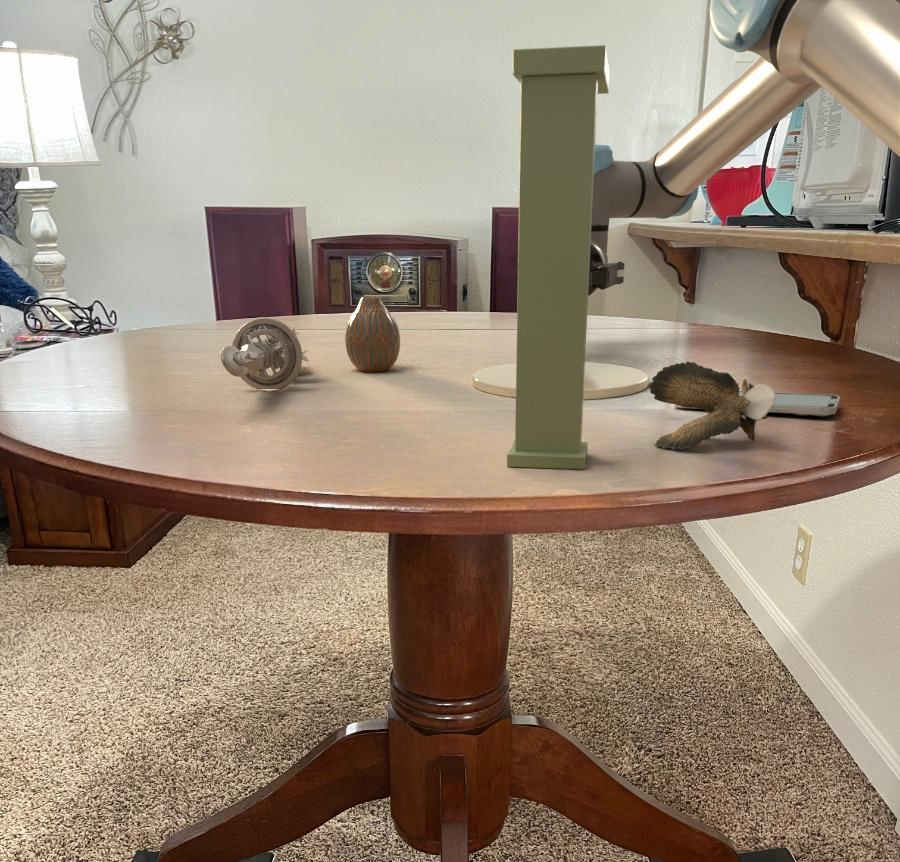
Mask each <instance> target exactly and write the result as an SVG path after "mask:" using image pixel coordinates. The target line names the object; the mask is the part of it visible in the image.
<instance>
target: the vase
mask: <svg viewBox="0 0 900 862" xmlns="http://www.w3.org/2000/svg"><path fill="white" fill-rule="evenodd" d="M344 344H345V350H346V353H347V357H348V359H349V361H350V363H351V364H352V365H353V366H354V367H355V368H356V369H357V370H358V371H360V372H366V373H367V372H369V373H373V372H374V373H376V372H385V371H389V370H390V369H392V367H393V366H394V365H395V364H396V362H397V360H398V358H399V354H400V349H401V335H400V330H399V325H398V323H397V321H396V319H395V318H394V316H393V315H392V314H391V312H390V311H389V310H388V309H387V307H386V306H385V304H384V302H383V300H382V297H380V296H377V295H375V296H373V295H370V296H361V298H360V299H359V302H358V305H357V307H356V309H355V310H354V311H353V312H352V314H351V316H350V318H349V319H348V321H347V324H346V328H345V334H344Z"/></svg>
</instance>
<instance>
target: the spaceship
mask: <svg viewBox="0 0 900 862" xmlns="http://www.w3.org/2000/svg"><path fill="white" fill-rule="evenodd" d="M298 334H299V332H296V330H295V327H293V328H291V327H289V326H288V325H287V324H285V323H284V322H282V321H280V320H279V319H276V318H272V317H257V318H253V319H251V320H249V321H247V322H246V323H244V324H243V325H242V326H241V327H240V328H239V329H238V330H237V332H236V333H235V335H234V338H233V340H232V344H231V345H226V346H224V347H222V349H221V350H220V352H219V354H220V355H219V358H220V361H221V363H222V366H223V368H224V369H225V370H226V371H227V372H228V373H229V374H230V375H231V376H234V377H237V378H240V379H241V380H242V381H243V382H244V383H245V384H246V385H248V386H250V387H251V388H253V389H255V388H256V389H255V390H258V389H280V390H283V389H285V388H287V387H288V386H290V384H292V383H293V382H294V380H296V378H297V377H298V375H299V373H300V371H301V367H302V364H303V361H305V362H310V360H309V358H308V357H307V356H306V355H305V354H306V353H307V352H308V349H305V350H304V351H303V350H302V349H303V348H302V346H301V343H300V340H299V338H298V336H297V335H298ZM300 334H302V332H300ZM261 336H265V337H266V338H263V339H262V338H261ZM255 338H256V339H257V342H256V341H253V340H254V339H255ZM278 369H279V370H278ZM268 370H269V371H272V373H273V374H268V372H267V371H268ZM276 370H278V371H276Z"/></svg>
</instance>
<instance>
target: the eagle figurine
mask: <svg viewBox="0 0 900 862" xmlns="http://www.w3.org/2000/svg"><path fill="white" fill-rule="evenodd" d="M651 380H652V381H651V382H650V383H648V386H647V389H650V390H649V393H650V394H651V395H654V397H653V399H654V400H656V401H659V402H661V403H666V404H670V405H674V404H675V405H679V406H682V407H688V408H687V409H697V408H699V410H703V411H705V412H706V413H707V414H706V415H703V416H701V417H698V418H696V419H692V420H690V421H688V422H686V423H683V424H681V426H679V427H678V428H677V429H675V430H674V431H673V432H671V433H668V434H665V435H662V436H660V437H658V439H657V440H656V441H655V442H656V443H654V446H655V447H656V448H662V449H670V448H671V450H675V449H678V450H684V449H688V448H692V447H694V446H696V445H700V444H702V443H703V442H705V441H708V440H710V439H711V438H714V437H716V436H720V435H730V434H732V433H733V432H735V431H738V430H739V428H741V430H742V431H743V433H745V434H746V435H747V438H748V439H749V440H751V441H752V442H754V441H755V439H756V433H755V432H756V431H755V430H756V429H755V428H756V422H757V421H761V420H766V419H768V415H767V414H768V413H770V412H769V411H770V410H771V409H772V408H773V405H774V401H775V398H776V397H775V392H776V391H774V389H773V388H772V387H771V386H769V385H768V384H765V383H763V382H759V383H756V384H755V385H753V384H752V383H748V380H747V379H742V382H741V387H739V383H738V382H737V381H736V380H735V379H734V377H733V376H732V375H731V374H730V373H729V372H723V371H721V372H719V371H718V370H713V369H712V368H708V367H704V366H702V365H698V363H696V362H695V361H691V362H690V361H686V362H680V363H675V364H670V365H669V366H663V367H662V370H659V371H658V372H657V373H656V375H654V376H653V377H652V378H651ZM740 388H741V391H743V396H739V391H740ZM691 407H692V408H691Z"/></svg>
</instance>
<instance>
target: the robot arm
mask: <svg viewBox="0 0 900 862" xmlns="http://www.w3.org/2000/svg"><path fill="white" fill-rule="evenodd" d="M709 21H710V26H711V30H712V32H713V35H714V37H715V39H716V40H717V42H718V43H719V44H720V45H721V46H722V47H724V48H726V49H729V50H732V51H734V52H736V53H745V52H752V53H754V54H757V55H758V56H759V57H758V58H757V59H756V60H755V61H753V63H751V65H749V66H748V67H747V68H746V70H744V71H743V72H742V73H741V74H740V75H738V77H737V78H736V79H734V80H733V81H732V82H731V83H730V84H729V85H728V86H727V87H726V88H725V89H724V90H723V91H721V92H720V93H719V94H718V95H717V96H716V97H715V98H714V99H712V101H711V102H710V103H709V104H707V105H706V107H704V108H703V110H701V111H700V112H699V113H698V114H697V115H696V116H695V117H694V118H693V119H691V121H690V122H688V123H687V124H686V125H685V126H684V127H683V128H682V129H681V130H680V131H678V133H677V134H675V135H674V136H673V137H672V138H671V139H670V140H669V141H668V142H667V143H666V144H664V146H662V148H660V149H659V151H657V152H656V153H655V154H654V155H652V156H651V157H650V158H649V159H648V160H645V161H633V160H632V161H630V160H629V161H628V160H627V161H626V160H615V158H614V157H613V156H614V155H613V152H614V151H613V148H612V147H611V146H610V145H607V144H595V159H594V181H593V202H592V223H591V245H590V266H589V287H588V297H590V296H591V295H592V294H594V293H595V292H596V291H597V290H598V289H599V290H600V291H601V290H603V291H604V290H606V289H609V288H611V287H613V286H615V285H621V284H624V279H625V265H626V264H625V262H623V261H617V262H608V260H609V259H608V258H609V257H608V242H609V240H608V239H609V230H610V229H609V227H610V226H609V225H610V219H659V220H660V219H662V220H663V219H668V218H672V217H680V216H683V215H685V214H687V213H688V212H689V211H690V210H691V209H692V207H693V204H694V202H695V201H696V200H697V198H698V194H699V189H700V186H702V185H703V184H704V183H705V182H707V181H708V180H709V179H710V178H712V177H713V176H714V175H716V173H718V172H719V171H720V170H721V169H723V168H724V167H726V165H728V164H729V163H730V162H731V161H732V160H735V158H737V156H739V155H740V154H741V153H742V152H743V151H745V150H746V149H747V148H749V147H750V146H751V145H752V144H754V143H755V142H756V141H757V140H758V139H760V138H761V137H762V136H763V135H765V134H766V133H767V132H768V131H770V130H771V129H772V128H773V127H774V126H777V124H778V123H779V122H781V121H782V120H783V119H784V118H786V117H787V116H788V115H790V114H791V113H792V112H793V111H795V110H796V109H797V108H798V107H799V106H801V105H802V104H803V103H804V102H806V101H807V100H808V99H810V98H811V97H812V96H813V95H814V94H816V93H817V92H818V91H819V90H821V89H822V88H823V89H824V90H825V91H826V92H828V93H829V95H830V96H831V97H833V98H834V99H835V100H836V101H837V102H838V103H839V104H841V106H843V107H844V108H845V109H846V110H847V111H848V112H849V113H850V114H852V115H853V116H854V117H855V118H856V119H857V120H858V121H859V122H861V124H863V126H865V127H866V128H867V129H868V130H869V131H870V132H871V133H872V134H874V135H875V136H876V137H877V138H878V139H879V140H880V141H881V142H883V143H884V144H885V146H887V147H888V148H889V149H890V150H891V151H892V152H893V153H895V154H896V155H897V156H898V157H899V158H900V0H710V5H709Z"/></svg>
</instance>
